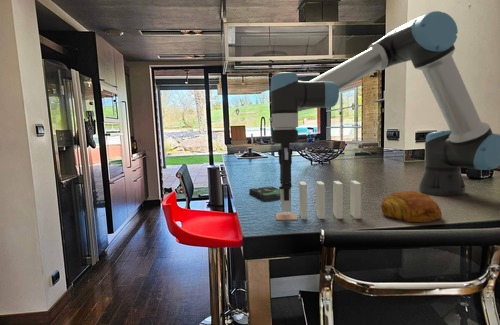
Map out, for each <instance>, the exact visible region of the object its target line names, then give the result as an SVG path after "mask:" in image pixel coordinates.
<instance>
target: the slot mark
mask: <svg viewBox="0 0 500 325" xmlns="http://www.w3.org/2000/svg"><path fill="white" fill-rule="evenodd" d="M275 218H276V221H298V216H297V214H296V212H275Z"/></svg>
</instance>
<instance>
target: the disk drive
mask: <svg viewBox="0 0 500 325" xmlns="http://www.w3.org/2000/svg"><path fill="white" fill-rule="evenodd" d="M249 195H251V196H253V197H254V198H257V199H259V200H261V201H263V202H269V201H277V200H281V193H280V189H279V188H276V187H274V186H266V187H265V186H262V187H258V188H255V187H253V188H249Z"/></svg>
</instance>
